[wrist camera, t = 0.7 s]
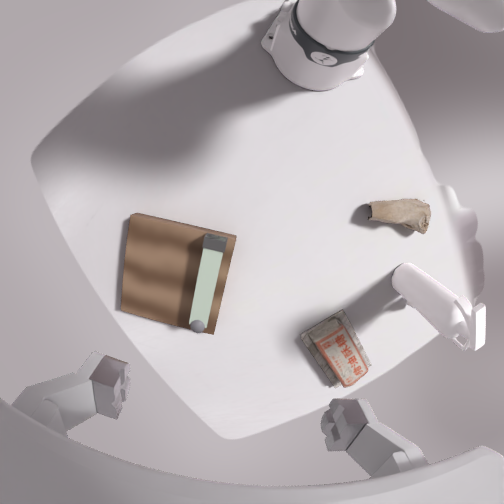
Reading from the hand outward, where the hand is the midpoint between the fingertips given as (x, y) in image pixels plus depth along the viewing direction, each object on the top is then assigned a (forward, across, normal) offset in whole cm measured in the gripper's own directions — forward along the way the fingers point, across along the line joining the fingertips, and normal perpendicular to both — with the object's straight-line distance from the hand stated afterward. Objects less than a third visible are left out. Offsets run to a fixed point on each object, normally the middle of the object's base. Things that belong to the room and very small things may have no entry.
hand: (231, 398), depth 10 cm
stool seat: (+39, +9, +10) cm, 41 cm away
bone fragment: (+39, -28, -10) cm, 49 cm away
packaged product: (+40, -26, +20) cm, 51 cm away
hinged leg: (+36, +3, +9) cm, 37 cm away
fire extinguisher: (+39, -35, +3) cm, 52 cm away
